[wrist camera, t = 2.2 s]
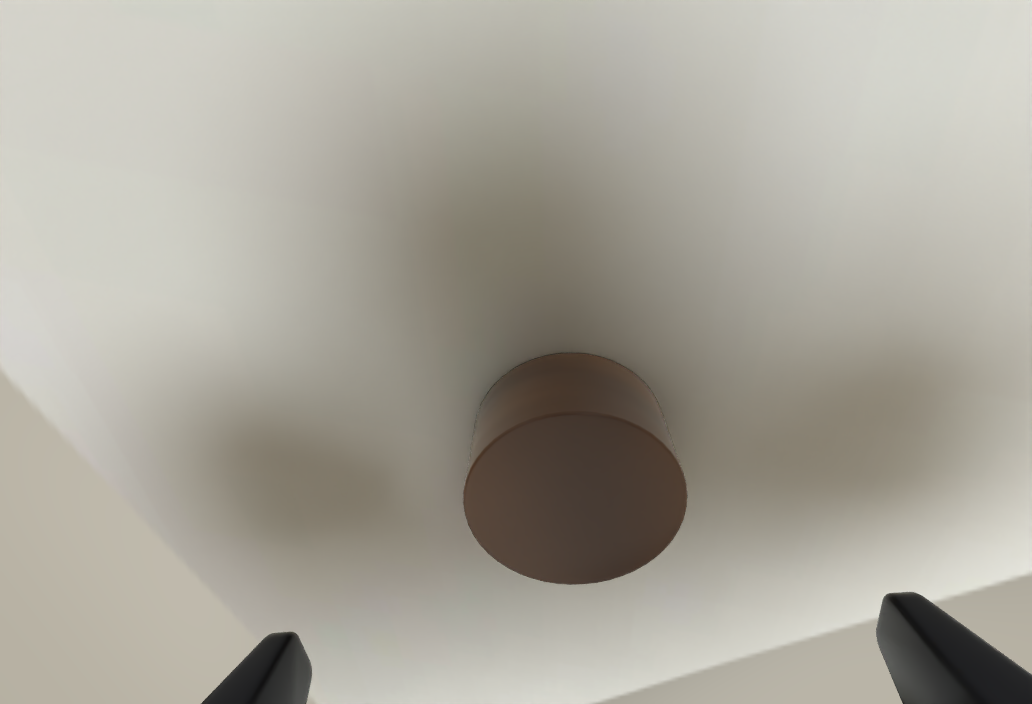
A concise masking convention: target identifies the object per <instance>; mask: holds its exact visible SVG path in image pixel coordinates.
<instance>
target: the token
mask: <svg viewBox="0 0 1032 704" xmlns="http://www.w3.org/2000/svg"><path fill="white" fill-rule="evenodd" d="M463 504H464V511H465V516H466V519H467V522H468V525H469V527H470V529H471V531H472V533H473V535H474V537H475V538H476V539H477V541H478V542H479V544H480V545H481V546H482V547H483V548H484V549H485V550H486V552H487V553H488V554H490V555H491V556H492V557H493V558H494V559H496V560H497V561H498V562H500V563H501V564H503V565H504V566H506V567H507V568H509V569H511V570H513V571H515V572H517V573H519V574H522V575H524V576H527V577H530V578H533V579H537V580H540V581H544V582H550V583H556V584H570V585H571V584H590V583H598V582H602V581H607V580H611V579H614V578H618V577H621V576H623V575H626V574H628V573H630V572H633V571H635V570H637V569H639V568H640V567H642V566H644V565H646V564H647V563H648V562H650V561H651V560H653V559H654V558H655V557H657V556H658V555H659V554H660V553H661V552H662V551H663V550H664V549H665V548H666V547H667V546H668V545H669V543H670V542H671V541H672V540H673V538H674V537H675V535H676V533H677V532H678V530H679V528H680V526H681V523H682V521H683V519H684V515H685V511H686V507H687V485H686V480H685V477H684V473H683V470H682V467H681V464H680V462H679V459H678V456H677V453H676V450H675V448H674V445H673V442H672V439H671V436H670V434H669V431H668V428H667V425H666V422H665V420H664V417H663V414H662V411H661V408H660V406H659V404H658V402H657V399H656V397H655V396H654V394H653V393H652V391H651V390H650V388H649V387H648V386H647V385H646V384H645V383H644V382H643V381H642V380H641V379H640V378H639V377H638V376H637V375H636V374H634V373H633V372H632V371H630V370H628V369H627V368H625V367H624V366H622V365H620V364H618V363H616V362H613V361H611V360H608V359H605V358H602V357H599V356H594V355H589V354H581V353H560V354H553V355H547V356H543V357H540V358H536V359H533V360H531V361H528V362H526V363H524V364H521V365H520V366H518V367H516V368H514V369H513V370H511V371H510V372H508V373H507V374H506V375H504V376H503V377H502V378H501V379H500V380H499V381H498V382H497V383H496V384H495V385H494V386H493V387H492V388H491V389H490V391H489V392H488V393H487V395H486V396H485V398H484V400H483V402H482V403H481V405H480V408H479V411H478V414H477V417H476V422H475V428H474V434H473V439H472V445H471V451H470V457H469V462H468V468H467V474H466V480H465V485H464V491H463Z"/></svg>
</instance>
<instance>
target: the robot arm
mask: <svg viewBox="0 0 1032 704" xmlns="http://www.w3.org/2000/svg"><path fill="white" fill-rule="evenodd" d="M876 636H877V642H878V645H879V648H880V650H881V653H882V655H883V657H884V660H885V662H886V665H887V667H888V669H889V672H890V674H891V676H892V679H893V681H894V684H895V686H896V688H897V691H898V693H899V696H900V698H901V700H902V703H903V704H1032V675H1031V674H1030V673H1029V672H1027V671H1026V670H1024V669H1023V668H1022V667H1020V666H1019V665H1018V664H1016V663H1015V662H1013V661H1012V660H1011V659H1009V658H1008V657H1007V656H1005V655H1004V654H1002V653H1001V652H1000V651H998V650H997V649H995V648H994V647H993V646H991V645H990V644H988V643H987V642H986V641H984V640H983V639H982V638H980V637H979V636H977V635H976V634H975V633H973V632H972V631H970V630H969V629H968V628H966V627H965V626H963V625H962V624H961V623H959V622H958V621H957V620H955V619H954V618H952V617H951V616H950V615H948V614H947V613H945V612H944V611H942V610H941V609H940V608H938V607H937V606H936V605H934V604H933V603H932V602H930V601H929V600H927V599H926V598H925V597H923V596H921V595H919V594H917V593H914V592H901V593H889V594H887V595H886V596H885V597H884V598H883V601H882V605H881V610H880V615H879V619H878V624H877V628H876ZM311 678H312V667H311V663H310V660H309V658H308V656H307V654H306V652H305V649H304V647H303V645H302V643H301V641H300V638H299V636H298V635H297V634H296V633H294V632H279V633H272V634H270V635H268V636H267V637H265V638H264V639H263V640H262V641H261V642H260V643H259V644H258V645H257V646H256V648H254V649H253V651H252V652H251V653H250V654H249V655H248V656H247V657H246V658H245V659H244V660H243V661H242V662H241V663H240V664H239V665H238V666H237V667H236V668H235V669H234V670H233V671H232V672H231V673H230V674H229V676H227V677H226V678H225V679H224V680H223V682H222V683H221V684H220V685H219V686H218V687H217V688H216V689H215V690H214V691H213V692H212V693H211V694H210V695H209V696H208V697H207V698H206V699H205V700H204V701H203V702H202V703H201V704H306V702H307V698H308V693H309V688H310V683H311Z"/></svg>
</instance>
